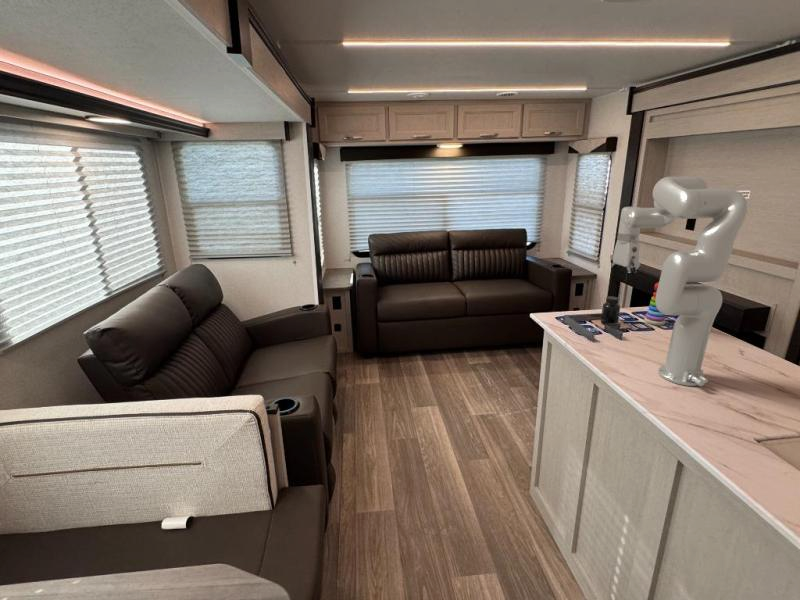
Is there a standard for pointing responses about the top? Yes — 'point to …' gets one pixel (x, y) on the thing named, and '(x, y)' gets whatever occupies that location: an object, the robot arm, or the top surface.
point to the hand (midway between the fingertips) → (621, 278)
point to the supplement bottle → (610, 310)
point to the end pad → (598, 322)
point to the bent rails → (572, 320)
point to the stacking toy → (654, 312)
